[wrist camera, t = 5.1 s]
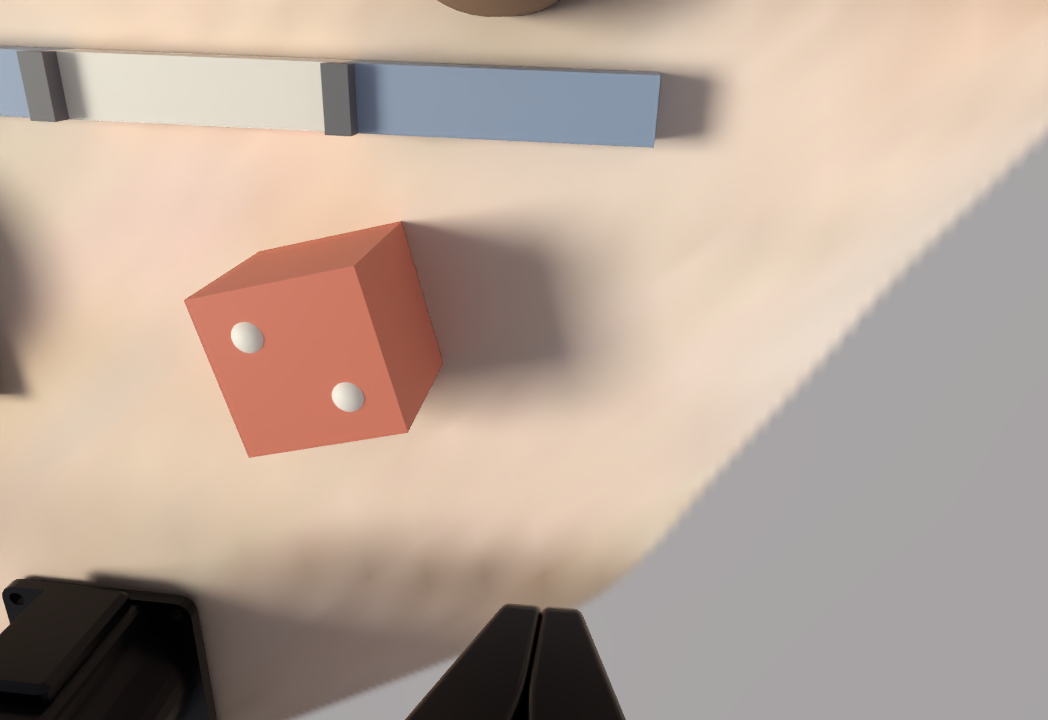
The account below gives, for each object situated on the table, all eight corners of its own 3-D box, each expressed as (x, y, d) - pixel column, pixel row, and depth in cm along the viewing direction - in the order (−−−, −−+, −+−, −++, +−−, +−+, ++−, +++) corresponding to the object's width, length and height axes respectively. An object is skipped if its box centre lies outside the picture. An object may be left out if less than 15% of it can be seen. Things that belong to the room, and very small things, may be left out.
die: (443, 362, 21) (405, 436, 18) (309, 385, 22) (245, 461, 18) (402, 220, 20) (350, 268, 16) (260, 250, 21) (179, 303, 17)
